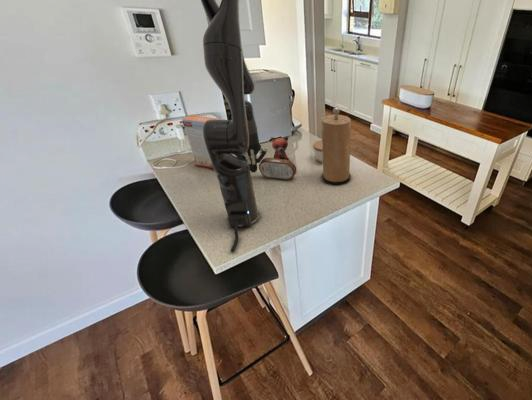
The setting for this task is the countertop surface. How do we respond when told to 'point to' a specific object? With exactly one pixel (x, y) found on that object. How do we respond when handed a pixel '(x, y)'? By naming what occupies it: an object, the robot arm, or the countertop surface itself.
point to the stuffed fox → (280, 147)
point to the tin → (277, 168)
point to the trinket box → (318, 150)
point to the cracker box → (198, 138)
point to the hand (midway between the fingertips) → (254, 171)
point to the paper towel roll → (336, 148)
